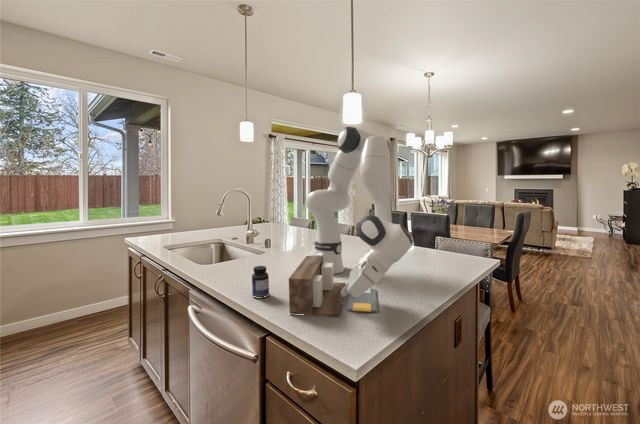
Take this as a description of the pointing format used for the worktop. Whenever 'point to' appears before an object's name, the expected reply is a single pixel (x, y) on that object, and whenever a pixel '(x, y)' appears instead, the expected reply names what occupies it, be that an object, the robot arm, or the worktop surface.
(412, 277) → the worktop surface
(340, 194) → the robot arm
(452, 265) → the worktop surface
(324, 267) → the inner key
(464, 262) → the worktop surface
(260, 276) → the pill bottle
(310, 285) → the key panel
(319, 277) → the outer key
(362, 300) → the card
